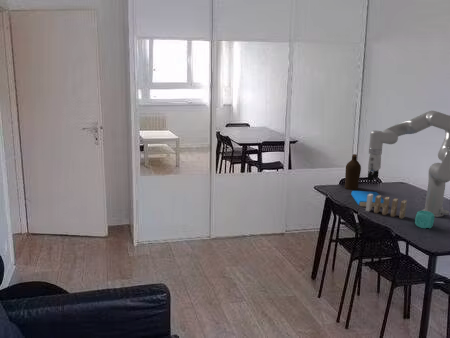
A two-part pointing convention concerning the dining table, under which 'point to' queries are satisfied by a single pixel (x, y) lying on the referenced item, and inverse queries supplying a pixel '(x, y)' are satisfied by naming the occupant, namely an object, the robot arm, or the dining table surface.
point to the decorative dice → (424, 219)
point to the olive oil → (352, 173)
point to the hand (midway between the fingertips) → (372, 179)
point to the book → (365, 198)
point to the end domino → (369, 202)
